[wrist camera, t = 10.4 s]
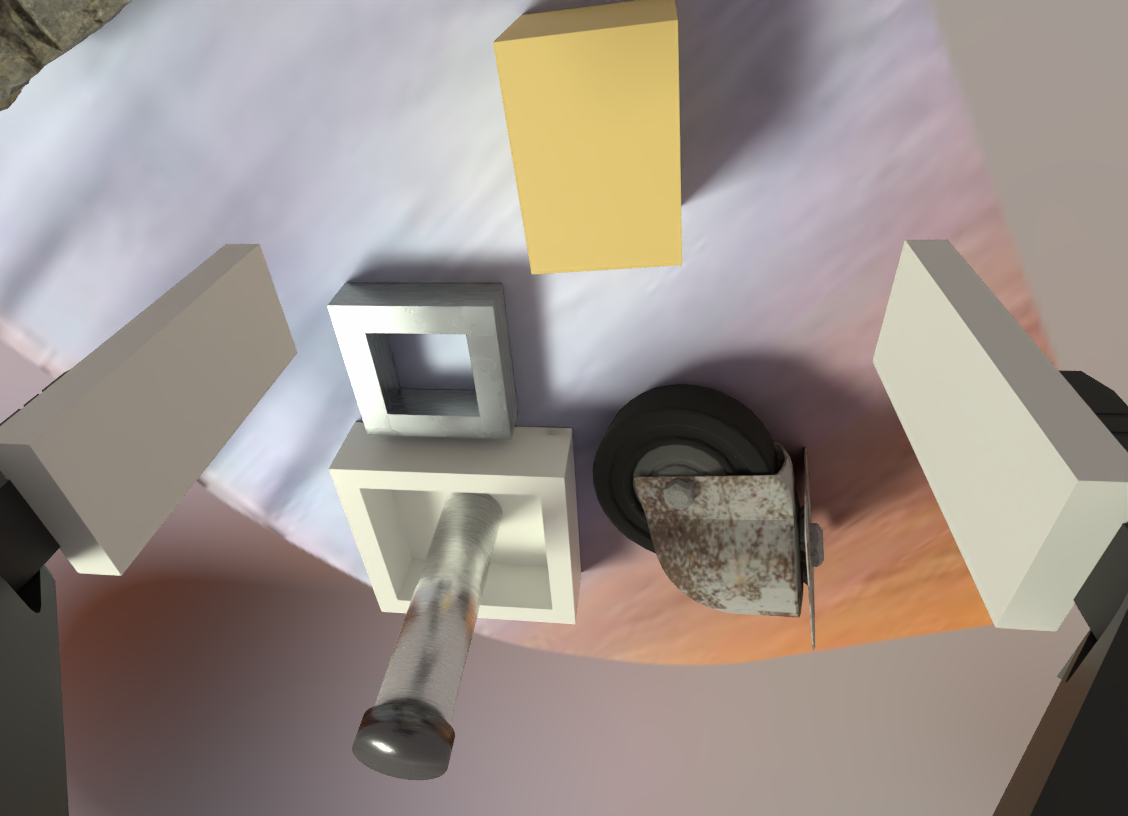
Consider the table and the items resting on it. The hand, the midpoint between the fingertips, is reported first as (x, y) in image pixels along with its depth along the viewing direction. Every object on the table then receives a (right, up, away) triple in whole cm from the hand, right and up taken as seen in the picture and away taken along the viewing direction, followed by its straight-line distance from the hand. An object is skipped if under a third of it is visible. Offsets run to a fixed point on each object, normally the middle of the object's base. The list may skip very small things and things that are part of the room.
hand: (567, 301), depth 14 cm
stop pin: (-5, -8, +22) cm, 24 cm away
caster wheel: (+7, -5, +20) cm, 21 cm away
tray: (-5, -7, +23) cm, 25 cm away
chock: (+1, +8, +10) cm, 13 cm away
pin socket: (-6, 0, +17) cm, 18 cm away
